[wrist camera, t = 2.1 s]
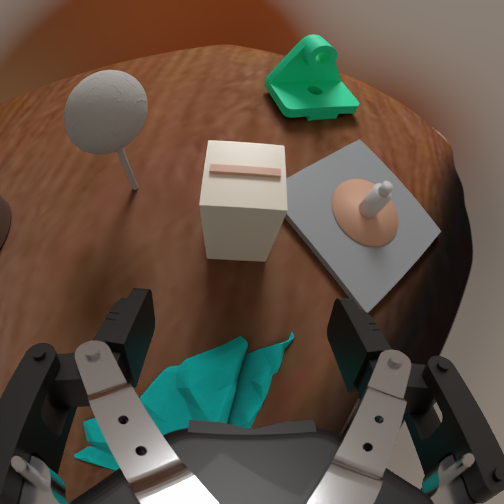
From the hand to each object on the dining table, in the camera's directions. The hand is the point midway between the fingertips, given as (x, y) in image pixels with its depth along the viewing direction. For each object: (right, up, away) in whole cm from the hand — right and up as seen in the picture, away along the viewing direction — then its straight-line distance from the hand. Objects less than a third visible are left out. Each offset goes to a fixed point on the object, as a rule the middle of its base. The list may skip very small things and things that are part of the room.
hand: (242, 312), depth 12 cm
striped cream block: (-1, +4, +16) cm, 17 cm away
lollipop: (-12, +10, +17) cm, 23 cm away
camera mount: (+9, +24, +25) cm, 36 cm away
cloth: (-6, -13, +10) cm, 17 cm away
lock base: (+13, +7, +18) cm, 24 cm away
